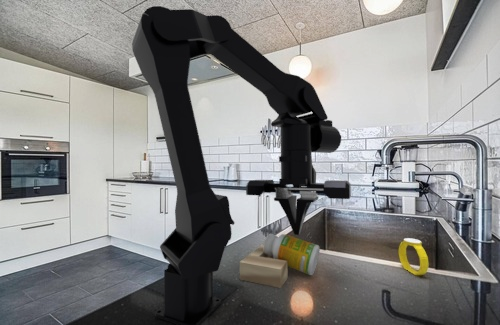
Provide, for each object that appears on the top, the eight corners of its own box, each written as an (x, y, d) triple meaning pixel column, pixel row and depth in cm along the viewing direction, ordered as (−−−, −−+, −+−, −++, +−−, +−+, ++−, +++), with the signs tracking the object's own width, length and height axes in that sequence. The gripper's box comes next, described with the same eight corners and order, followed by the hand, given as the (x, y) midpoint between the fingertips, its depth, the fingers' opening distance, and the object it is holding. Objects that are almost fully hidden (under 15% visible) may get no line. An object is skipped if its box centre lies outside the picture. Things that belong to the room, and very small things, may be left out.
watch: (432, 280, 42) (433, 246, 41) (417, 280, 42) (418, 247, 41) (408, 264, 48) (408, 234, 47) (394, 264, 48) (395, 235, 47)
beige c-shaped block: (280, 288, 39) (280, 269, 39) (239, 279, 42) (239, 262, 42) (300, 258, 51) (300, 244, 51) (268, 253, 54) (268, 240, 55)
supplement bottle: (314, 254, 40) (263, 236, 45) (310, 282, 41) (260, 261, 46) (321, 240, 45) (274, 225, 50) (317, 266, 46) (271, 249, 51)
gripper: (351, 152, 49) (352, 229, 48) (265, 155, 56) (266, 221, 56) (348, 147, 38) (350, 245, 38) (244, 152, 46) (245, 233, 46)
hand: (297, 234), depth 45 cm, fingers closed
